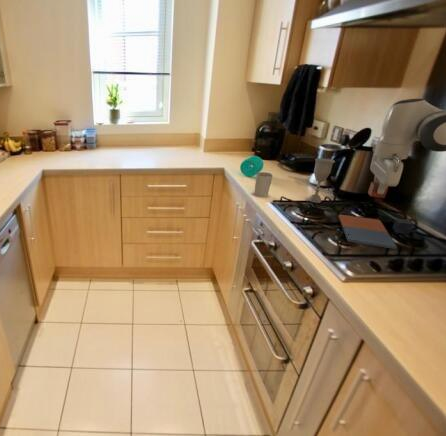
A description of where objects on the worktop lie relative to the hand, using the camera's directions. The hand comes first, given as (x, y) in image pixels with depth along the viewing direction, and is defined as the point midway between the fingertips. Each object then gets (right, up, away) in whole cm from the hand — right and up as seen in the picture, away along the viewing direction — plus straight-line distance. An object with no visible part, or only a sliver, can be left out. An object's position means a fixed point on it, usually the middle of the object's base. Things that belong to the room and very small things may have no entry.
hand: (377, 190), depth 109 cm
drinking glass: (-24, +1, +37) cm, 44 cm away
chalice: (-3, -2, +30) cm, 30 cm away
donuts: (-17, +15, +66) cm, 70 cm away
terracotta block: (0, -1, +1) cm, 2 cm away
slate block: (+10, -14, +2) cm, 17 cm away
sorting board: (-3, -14, +2) cm, 15 cm away
